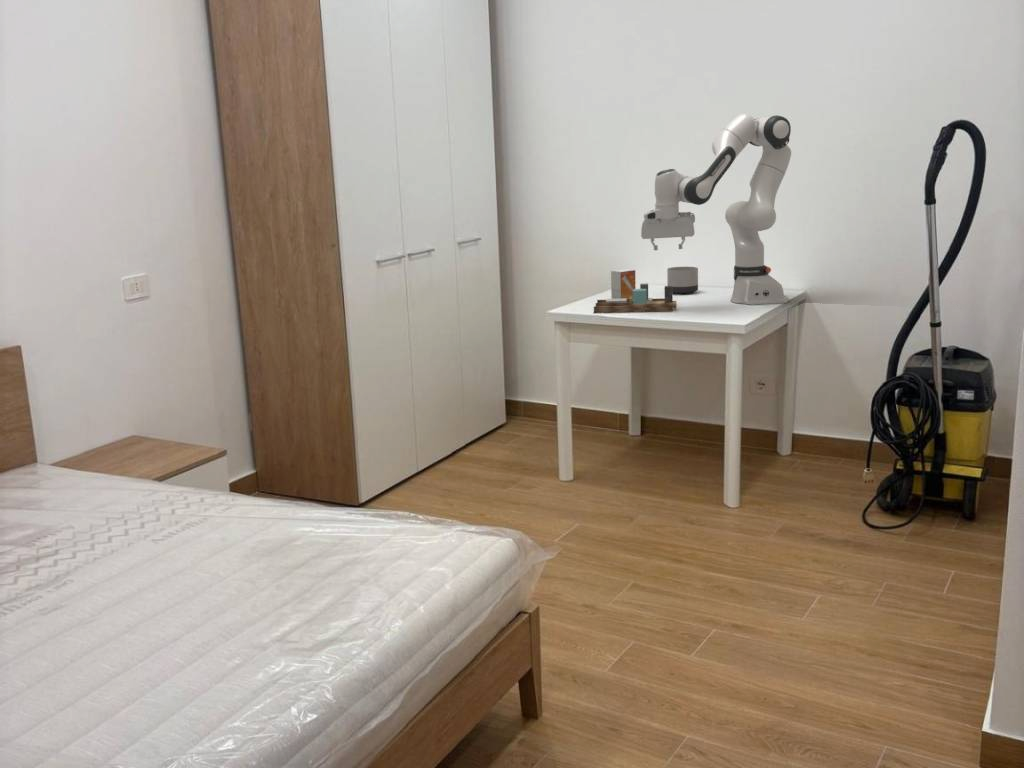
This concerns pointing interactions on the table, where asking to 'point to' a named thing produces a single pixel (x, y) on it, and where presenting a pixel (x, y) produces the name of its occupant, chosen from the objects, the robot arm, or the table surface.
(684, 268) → the planter
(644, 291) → the teal cube
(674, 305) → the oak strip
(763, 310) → the table surface
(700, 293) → the table surface
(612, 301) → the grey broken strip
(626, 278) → the small box
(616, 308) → the lane board
